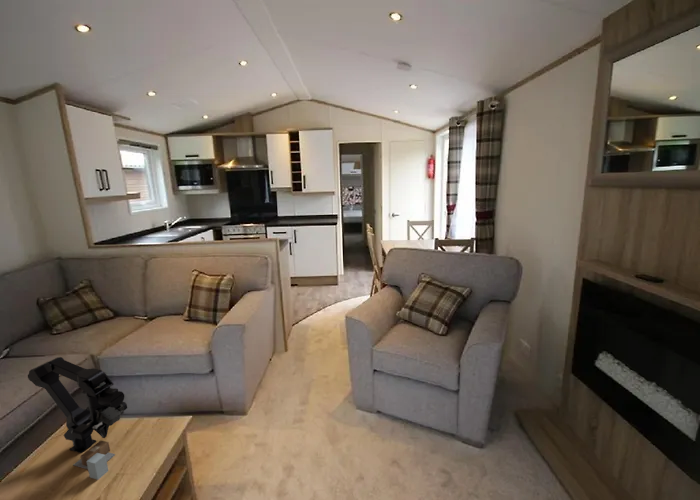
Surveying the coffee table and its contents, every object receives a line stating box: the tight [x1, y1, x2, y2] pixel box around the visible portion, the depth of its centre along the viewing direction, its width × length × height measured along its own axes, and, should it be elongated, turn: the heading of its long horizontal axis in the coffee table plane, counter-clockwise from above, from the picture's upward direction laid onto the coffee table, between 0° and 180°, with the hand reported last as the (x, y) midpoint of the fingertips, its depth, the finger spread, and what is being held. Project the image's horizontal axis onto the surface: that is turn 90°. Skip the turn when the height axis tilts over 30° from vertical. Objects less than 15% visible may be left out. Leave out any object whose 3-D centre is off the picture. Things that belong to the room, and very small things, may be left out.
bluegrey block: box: [86, 453, 109, 481], centre depth 124 cm, size 4×4×7 cm
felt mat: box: [73, 451, 116, 470], centre depth 131 cm, size 11×8×1 cm
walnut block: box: [80, 440, 111, 466], centre depth 131 cm, size 4×4×8 cm
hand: (104, 437), depth 134 cm, fingers closed
